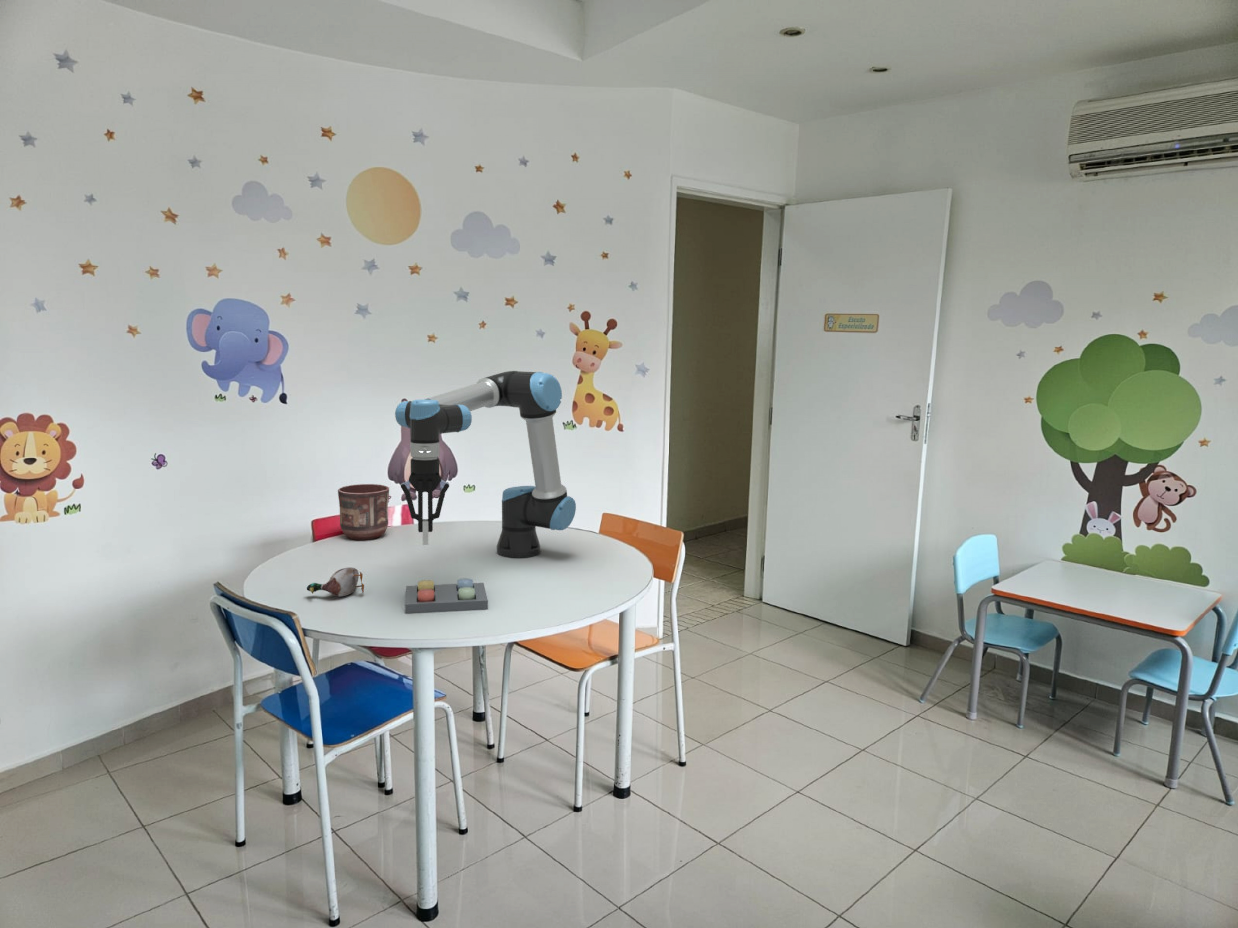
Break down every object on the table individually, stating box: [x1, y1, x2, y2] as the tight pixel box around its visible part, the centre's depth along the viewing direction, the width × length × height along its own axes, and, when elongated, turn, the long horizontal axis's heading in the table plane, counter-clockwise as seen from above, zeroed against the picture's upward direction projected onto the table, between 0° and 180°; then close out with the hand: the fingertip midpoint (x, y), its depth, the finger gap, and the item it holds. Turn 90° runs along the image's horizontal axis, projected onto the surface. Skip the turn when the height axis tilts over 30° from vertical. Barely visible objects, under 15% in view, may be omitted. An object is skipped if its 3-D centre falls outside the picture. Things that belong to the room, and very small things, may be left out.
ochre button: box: [417, 579, 435, 591], centre depth 223 cm, size 4×4×3 cm
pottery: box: [337, 483, 390, 541], centre depth 285 cm, size 18×18×18 cm
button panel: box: [404, 582, 489, 615], centre depth 220 cm, size 22×16×2 cm
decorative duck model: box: [306, 567, 365, 597], centre depth 224 cm, size 15×8×15 cm
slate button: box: [456, 578, 474, 591], centre depth 225 cm, size 4×4×3 cm
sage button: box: [459, 587, 475, 600], centre depth 218 cm, size 4×4×3 cm
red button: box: [418, 589, 434, 602], centre depth 215 cm, size 4×4×3 cm
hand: (425, 543), depth 212 cm, fingers closed
